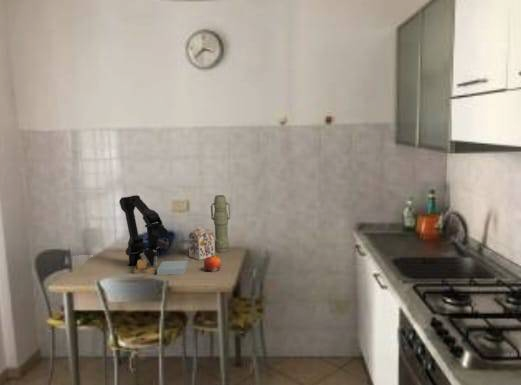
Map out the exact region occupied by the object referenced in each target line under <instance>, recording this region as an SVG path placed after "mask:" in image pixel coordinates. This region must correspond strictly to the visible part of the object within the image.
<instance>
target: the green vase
mask: <svg viewBox="0 0 521 385" xmlns="http://www.w3.org/2000/svg"><path fill="white" fill-rule="evenodd" d="M227 205H228V206H227ZM213 206H214V209H213ZM227 207H228V210H227ZM213 210H214V211H213ZM227 211H228V212H227ZM210 214H211V215H210V216H211V220H212V221H213V224H214V239H215V251H216V252H215V253H226V252H229V251H230V241H229V235H228V234H229V233H228V232H229V231H228V224H229V220H231V206H230V203H229V202H227V199H226V196H225V195H223V194H219V195H215V196H214V199H213V203H212V204H211V205H210Z"/></svg>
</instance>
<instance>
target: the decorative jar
mask: <svg viewBox="0 0 521 385" xmlns="http://www.w3.org/2000/svg"><path fill="white" fill-rule="evenodd" d="M196 228H197V229H194V230H192V231H190V233H189V234H188V235H187V236H188V256H189V258H193V259H195V260H197V261H201V260H205V259H206V258H207V257H211V256H216V252H215V233H213V231H212V230H211V229H207V228H205V226H198V227H196Z"/></svg>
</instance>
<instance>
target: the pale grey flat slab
mask: <svg viewBox="0 0 521 385" xmlns="http://www.w3.org/2000/svg"><path fill="white" fill-rule="evenodd" d="M188 262H189V261H188V260H166V261H164V260H163V261H162V262H161V263H160V264H159V267H158V269H157V272H156V275H157V276H163V275H165V276H167V275H168V274H173V275H184V274H185V273H186V270H187V268H188V265H189V264H188Z"/></svg>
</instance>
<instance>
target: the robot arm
mask: <svg viewBox="0 0 521 385" xmlns="http://www.w3.org/2000/svg"><path fill="white" fill-rule="evenodd" d="M118 203H119V206H120V209H121V210H122V211H123V213H124V215H125V220H126V224H127V225H126V226H127V230H128V236H129V238H128V241H127V248H126V250H125V255H127V256H128V261H129V262H128V263H129V264H128V266H129V267H130V266H131V267H133V266H134V267H135V266H136V265H137V261H138V260H142V259H143V256H142V254H143V255H144V256H145V257H146V260H148V263H149V264H150V265H151V266H154V257H155V256H157V259H158V258H159V252H160V251H161V249H164V250H167V249H168V248H169V245H170V242H169V239H168V238H166V237H167V236H168V230H167V228H166V227H165V225H164V224H163V221H162V219H161V217H160V215H159V213H157V211H155V210H153V209H151V208H149V207H148V205H146V203H145V202H144V201H143V200H142V199H141V196H140V195H137V194H136V195H131V196H122V197H121V198H120V199H119V202H118ZM135 209H137V210H138V211H139V213H141V215H142V220H143V222H144V223H145V224H144V228H146V237H147V238H146V241H147V246H146V249H145V243H144V238H143V237H140V236H139V231H138V227H137V222H136V215H135Z"/></svg>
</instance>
